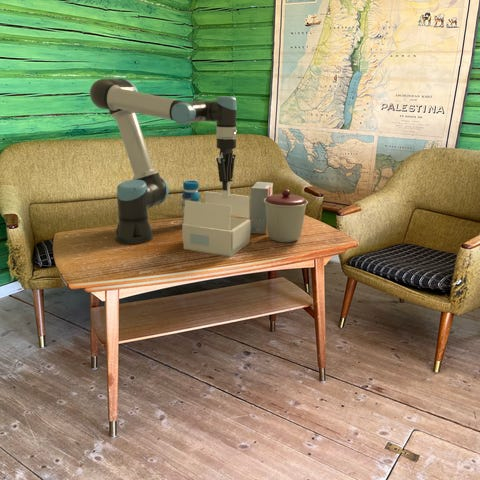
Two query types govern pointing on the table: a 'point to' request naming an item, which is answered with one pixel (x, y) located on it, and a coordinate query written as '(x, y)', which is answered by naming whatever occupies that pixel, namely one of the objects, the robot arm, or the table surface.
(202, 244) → the carton
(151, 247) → the table surface
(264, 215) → the hard drive box
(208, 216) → the flap near
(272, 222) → the canister
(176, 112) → the robot arm
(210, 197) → the flap far
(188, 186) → the beverage bottle
